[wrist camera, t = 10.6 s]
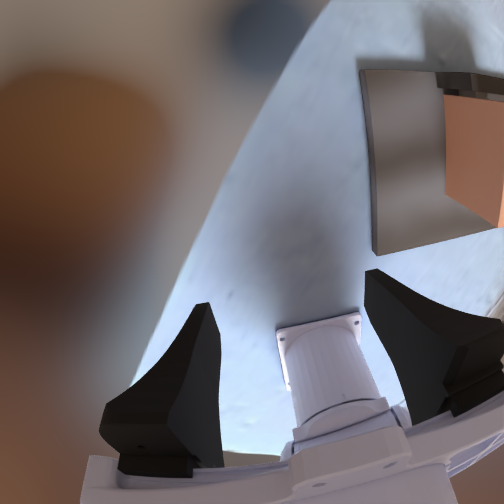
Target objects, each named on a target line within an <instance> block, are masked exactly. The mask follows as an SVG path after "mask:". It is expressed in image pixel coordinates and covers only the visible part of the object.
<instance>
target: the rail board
mask: <svg viewBox="0 0 504 504" xmlns="http://www.w3.org/2000/svg"><path fill="white" fill-rule="evenodd" d="M359 75H360V81H361V88H362V94H363V102H364V109H365V118H366V126H367V136H368V147H369V159H370V174H371V195H372V251H373V252H374V253H375V255H376V256H381V255H386V254H390V253H395V252H399V251H404V250H408V249H412V248H417V247H421V246H425V245H429V244H434V243H438V242H442V241H446V240H450V239H454V238H458V237H462V236H466V235H470V234H474V233H478V232H482V231H486V230H490V229H494V228H497V227H495V226H494V225H492V224H491V223H489V222H488V221H486V220H485V219H483V218H482V217H480V216H479V215H477V214H476V213H474V212H473V211H471V210H470V209H468V208H466V207H465V206H463V205H462V204H460V203H458V202H457V201H455V200H453V199H452V198H450V197H448V196H447V195H445V183H446V127H445V109H444V97H443V95H454V96H463V97H470V98H478V99H485V100H487V99H489V100H495V101H500V102H504V79H500V78H496V77H491V76H486V75H481V74H475V73H465V72H425V71H410V70H360V71H359Z"/></svg>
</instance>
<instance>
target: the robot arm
mask: <svg viewBox="0 0 504 504" xmlns="http://www.w3.org/2000/svg"><path fill="white" fill-rule="evenodd" d="M364 307H365V310H366V312H367V315H368V317H369V320H370V322H371V324H372V326H373V328H374V330H375V332H376V333H377V335H378V337H379V339H380V341H381V342H382V344H383V346H384V348H385V350H386V351H387V353H388V355H389V357H390V359H391V361H392V363H393V365H394V368H395V371H396V373H397V376H398V379H399V381H400V384H401V387H402V390H403V393H404V396H405V400H406V403H407V407H408V410H409V411H408V410H407V409H406V408H404V407H401V406H400V405H398V404H396V405H393V406H391V407H389V405H388V402H387V400H386V398H385V397H382V398H381V396H380V394H379V391H378V389H377V386H376V384H375V382H374V379H373V377H372V374H371V372H370V370H369V367H368V365H367V363H366V360H365V358H364V356H363V354H362V351H361V349H360V338H361V323H362V316H361V314H360V313H359V312H356V313H352V314H347V315H343V316H339V317H335V318H330V319H326V320H321V321H317V322H312V323H308V324H303V325H298V326H293V327H288V328H283V329H279V330H277V331H276V338H277V343H278V348H279V354H280V359H281V364H282V369H283V374H284V380H285V385H286V390H288V391H291V394H292V400H293V405H294V411H295V416H296V421H297V428H294V429H293V436H294V441H290V442H287V443H286V445H285V447H284V449H283V451H282V453H281V457H280V462H273V463H265V464H258V465H248V466H238V467H224V460H223V452H222V443H221V432H220V419H219V381H220V367H221V338H220V332H219V329H218V327H217V324H216V321H215V318H214V315H213V312H212V309H211V306H210V303H209V302H207V303H201V304H196V305H195V307H194V308H193V310H192V312H191V314H190V315H189V317H188V319H187V320H186V322H185V324H184V326H183V327H182V329H181V330H180V332H179V334H178V335H177V337H176V338H175V340H174V341H173V342H172V344H171V345H170V347H169V348H168V350H167V351H166V352H165V353H164V355H163V356H162V357H161V358H160V359H159V361H158V362H157V363H156V364H155V365H154V366H153V367H152V368H151V369H150V370H149V371H148V372H147V373H146V374H145V375H144V376H143V377H142V378H141V379H140V380H138V381H137V382H136V383H135V384H134V385H132V386H131V387H130V388H129V389H127V390H126V391H125V392H123V393H122V394H120V395H119V396H117V397H116V398H114V399H113V400H111V401H110V402H108V403H107V404H106V406H105V409H104V412H103V416H102V420H101V424H100V427H99V433H100V435H101V436H102V438H103V439H104V440H105V441H106V442H107V443H108V444H109V445H111V446H112V447H113V448H114V449H115V450H117V451H118V452H119V453H120V458H119V460H117V459H115V458H111V457H104V456H97V455H90V456H89V460H88V465H87V470H86V474H85V478H84V483H83V488H82V493H81V498H80V503H81V504H458V502H457V499H456V496H455V493H454V491H453V488H452V485H451V483H450V480H449V478H450V477H452V476H454V475H455V474H457V473H459V472H461V471H462V470H464V469H466V468H467V467H469V466H470V465H472V464H474V463H475V462H477V461H478V460H480V459H481V458H483V457H485V456H486V455H487V454H489V453H490V452H492V451H493V450H495V449H496V448H498V447H499V446H500V445H502V444H503V443H504V372H503V371H502V369H503V368H504V365H503V363H502V362H501V359H502V357H503V355H504V324H503V323H502V322H501V320H500V319H496V318H489V317H482V316H477V315H473V314H468V313H465V312H461V311H458V310H455V309H452V308H449V307H447V306H444V305H442V304H439V303H437V302H435V301H432V300H430V299H428V298H426V297H424V296H423V295H421V294H419V293H417V292H415V291H413V290H412V289H410V288H408V287H406V286H405V285H403V284H402V283H400V282H398V281H397V280H395V279H394V278H392V277H390V276H389V275H387V274H386V273H384V272H382V271H381V270H379V269H373V270H368V271H365V294H364ZM355 321H357V322H355ZM282 337H284V338H282Z"/></svg>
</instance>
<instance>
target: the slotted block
mask: <svg viewBox="0 0 504 504" xmlns="http://www.w3.org/2000/svg"><path fill="white" fill-rule="evenodd" d="M443 97H444V109H445V127H446V183H445V195H447V196H448V197H450V198H452V199H453V200H455V201H457V202H458V203H460V204H462V205H463V206H465V207H466V208H468V209H470V210H471V211H473V212H474V213H476V214H477V215H479V216H480V217H482V218H483V219H485V220H486V221H488V222H489V223H491V224H492V225H494V226H495V227H497V228H500V227H504V102H500V101H495V100H489V99H487V100H485V99H478V98H470V97H463V96H454V95H443Z"/></svg>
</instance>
